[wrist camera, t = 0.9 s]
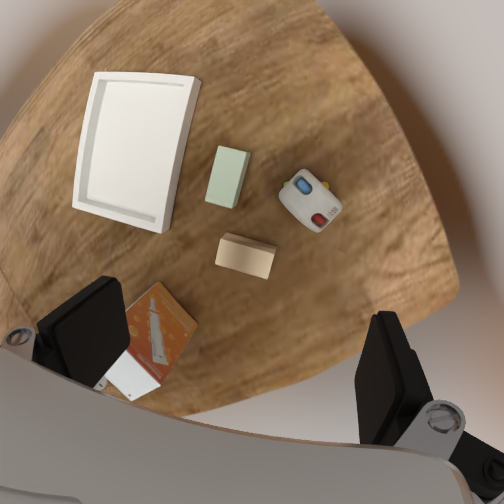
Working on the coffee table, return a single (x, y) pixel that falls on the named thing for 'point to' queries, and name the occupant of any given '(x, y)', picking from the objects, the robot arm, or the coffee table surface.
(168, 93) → the tray
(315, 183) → the roller toy
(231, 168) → the sage block
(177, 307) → the small box
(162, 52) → the coffee table surface
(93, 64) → the coffee table surface
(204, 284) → the coffee table surface
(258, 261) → the maple block
